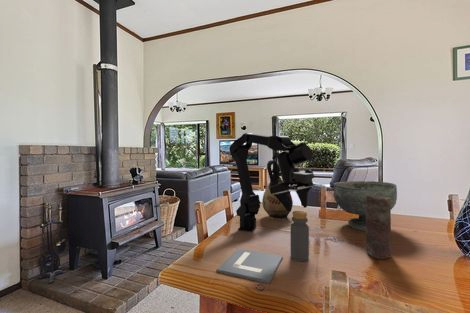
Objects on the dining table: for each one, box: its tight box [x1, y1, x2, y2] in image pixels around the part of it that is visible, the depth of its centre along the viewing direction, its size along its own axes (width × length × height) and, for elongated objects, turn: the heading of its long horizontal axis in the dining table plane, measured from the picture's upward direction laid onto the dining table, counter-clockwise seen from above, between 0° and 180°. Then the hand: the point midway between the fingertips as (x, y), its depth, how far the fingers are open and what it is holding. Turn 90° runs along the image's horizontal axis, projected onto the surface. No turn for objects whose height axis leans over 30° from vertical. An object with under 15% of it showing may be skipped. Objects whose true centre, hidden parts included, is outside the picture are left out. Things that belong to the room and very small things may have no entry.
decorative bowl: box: [333, 180, 398, 232], centre depth 110 cm, size 26×26×20 cm
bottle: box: [290, 210, 310, 262], centre depth 80 cm, size 6×6×15 cm
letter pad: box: [216, 248, 284, 284], centre depth 75 cm, size 16×16×1 cm
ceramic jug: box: [262, 159, 294, 221], centre depth 124 cm, size 17×15×30 cm
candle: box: [365, 195, 392, 260], centre depth 81 cm, size 8×7×20 cm
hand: (297, 209), depth 87 cm, fingers open, 9 cm apart
